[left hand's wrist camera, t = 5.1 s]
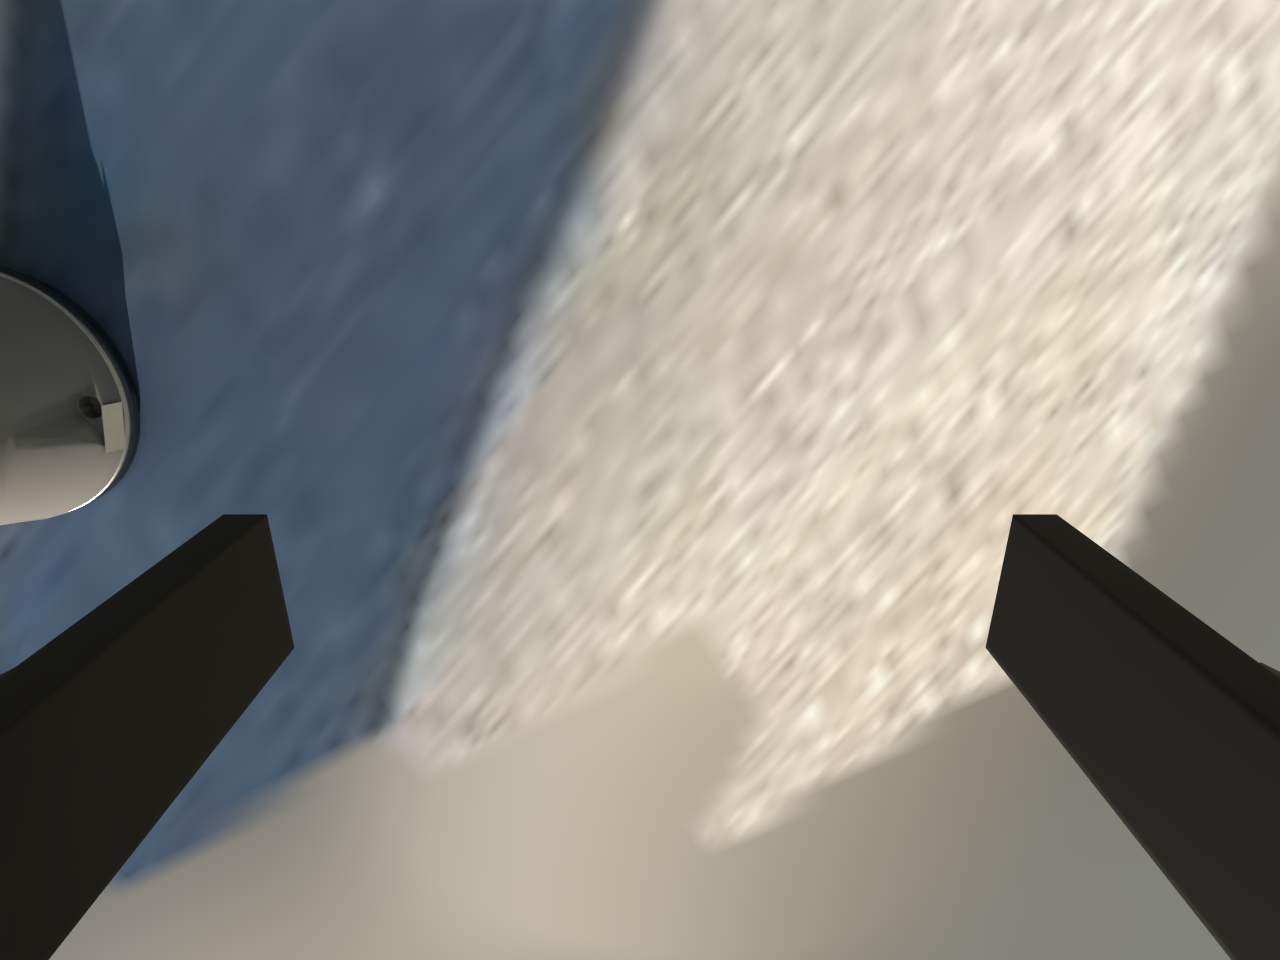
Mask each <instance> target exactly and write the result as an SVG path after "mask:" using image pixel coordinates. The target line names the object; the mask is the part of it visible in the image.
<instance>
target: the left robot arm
mask: <svg viewBox="0 0 1280 960" xmlns="http://www.w3.org/2000/svg"><path fill="white" fill-rule="evenodd" d="M139 434H140V414H139V406H138V401H137V396H136V392H135V389H134V386H133V383H132V380H131V378H130V375H129V373H128V371H127V369H126V367H125V365H124V363H123V361H122V359H121V357H120V356H119V354H118V352H117V351H116V349H115V348H114V346H113V345H112V343H111V342H110V340H109V339H108V338H107V336H106V335H105V334H104V333H103V332H102V330H101V329H100V328H99V327H98V326H97V325H96V324H95V323H94V322H93V321H92V320H91V319H90V318H89V317H88V316H87V315H86V314H85V313H84V312H83V311H82V310H81V309H80V308H78V307H77V306H76V305H75V304H73V303H72V302H71V301H69V300H68V299H67V298H66V297H64V296H63V295H61V294H60V293H58V292H56V291H55V290H53V289H52V288H50V287H48V286H46V285H44V284H43V283H41V282H39V281H37V280H34V279H32V278H30V277H28V276H25V275H23V274H20V273H17V272H14V271H11V270H7V269H3V268H0V525H4V524H11V523H18V522H24V521H34V520H41V519H46V518H51V517H54V516H57V515H61V514H64V513H67V512H69V511H72V510H75V509H77V508H79V507H82V506H84V505H86V504H88V503H89V502H91V501H93V500H95V499H97V498H99V497H100V496H102V495H103V494H105V493H107V492H108V491H109V490H110V489H112V488H113V487H114V486H115V485H116V484H117V483H118V482H119V481H120V480H121V479H122V477H123V476H124V475H125V473H126V472H127V470H128V469H129V467H130V465H131V463H132V461H133V458H134V456H135V453H136V450H137V446H138V442H139ZM293 649H294V644H293V639H292V634H291V629H290V624H289V619H288V615H287V610H286V605H285V600H284V595H283V590H282V585H281V581H280V576H279V571H278V566H277V561H276V556H275V551H274V547H273V542H272V537H271V532H270V527H269V522H268V518H267V515H222V516H221V517H219V518H218V519H217V520H215V521H214V522H213V523H211V524H210V525H208V526H207V527H206V528H204V529H203V530H202V531H200V532H199V533H198V534H196V535H195V536H193V537H192V538H191V539H189V540H188V541H187V542H185V543H184V544H183V545H181V546H180V547H179V548H177V549H176V550H174V551H173V552H172V553H170V554H169V555H168V556H166V557H165V558H164V559H162V560H161V561H159V562H158V563H157V564H155V565H154V566H153V567H151V568H150V569H149V570H147V571H146V572H144V573H143V574H142V575H140V576H139V577H138V578H136V579H135V580H134V581H132V582H131V583H129V584H128V585H127V586H125V587H124V588H123V589H121V590H120V591H119V592H117V593H116V594H114V595H113V596H112V597H110V598H109V599H108V600H106V601H105V602H104V603H102V604H101V605H100V606H98V607H97V608H95V609H94V610H93V611H91V612H90V613H89V614H87V615H86V616H85V617H83V618H82V619H80V620H79V621H78V622H76V623H75V624H74V625H72V626H71V627H70V628H68V629H67V630H65V631H64V632H63V633H61V634H60V635H59V636H57V637H56V638H55V639H53V640H52V641H50V642H49V643H48V644H46V645H45V646H44V647H42V648H41V649H40V650H38V651H37V652H36V653H34V654H33V655H31V656H30V657H29V658H27V659H26V660H25V661H23V662H22V663H21V664H19V665H18V666H16V667H15V668H13V669H11V670H9V671H7V672H5V673H3V674H1V675H0V960H49V959H50V957H51V956H52V955H53V953H54V952H55V951H56V950H57V948H58V947H59V946H60V945H61V943H62V942H63V941H64V939H65V938H66V937H67V936H68V934H69V933H70V932H71V931H72V929H73V928H74V927H75V925H76V924H77V923H78V922H79V920H80V919H81V918H82V917H83V915H84V914H85V913H86V912H87V910H88V909H89V908H90V906H91V905H92V904H93V903H94V901H95V900H96V899H97V898H98V896H99V895H100V894H101V892H102V891H103V890H104V889H105V887H106V886H107V885H108V884H109V882H110V881H111V880H112V879H113V877H114V876H115V875H116V873H117V872H118V871H119V870H120V868H121V867H122V866H123V865H124V863H125V862H126V861H127V859H128V858H129V857H130V856H131V854H132V853H133V852H134V851H135V849H136V848H137V847H138V846H139V844H140V843H141V842H142V840H143V839H144V838H145V837H146V835H147V834H148V833H149V832H150V830H151V829H152V828H153V826H154V825H155V824H156V823H157V821H158V820H159V819H160V818H161V816H162V815H163V814H164V812H165V811H166V810H167V809H168V807H169V806H170V805H171V804H172V802H173V801H174V800H175V799H176V797H177V796H178V795H179V793H180V792H181V791H182V790H183V788H184V787H185V786H186V785H187V783H188V782H189V781H190V779H191V778H192V777H193V776H194V774H195V773H196V772H197V771H198V769H199V768H200V767H201V765H202V764H203V763H204V762H205V760H206V759H207V758H208V757H209V755H210V754H211V753H212V752H213V750H214V749H215V748H216V746H217V745H218V744H219V743H220V741H221V740H222V739H223V738H224V736H225V735H226V734H227V732H228V731H229V730H230V729H231V727H232V726H233V725H234V724H235V722H236V721H237V720H238V719H239V717H240V716H241V715H242V713H243V712H244V711H245V710H246V708H247V707H248V706H249V705H250V703H251V702H252V701H253V699H254V698H255V697H256V696H257V694H258V693H259V692H260V691H261V689H262V688H263V687H264V685H265V684H266V683H267V682H268V680H269V679H270V678H271V677H272V675H273V674H274V673H275V672H276V670H277V669H278V668H279V666H280V665H281V664H282V663H283V661H284V660H285V659H286V658H287V656H288V655H289V654H290V652H291V651H292V650H293ZM986 649H987V650H988V651H989V652H990V654H991V655H992V656H993V658H994V659H995V660H996V661H997V663H998V664H999V665H1000V666H1001V668H1002V669H1003V670H1004V672H1005V673H1006V674H1007V675H1008V677H1009V678H1010V679H1011V680H1012V682H1013V683H1014V684H1015V685H1016V687H1017V688H1018V689H1019V691H1020V692H1021V693H1022V694H1023V696H1024V697H1025V698H1026V699H1027V701H1028V702H1029V703H1030V705H1031V706H1032V707H1033V708H1034V710H1035V711H1036V712H1037V713H1038V715H1039V716H1040V717H1041V719H1042V720H1043V721H1044V722H1045V724H1046V725H1047V726H1048V727H1049V729H1050V730H1051V731H1052V732H1053V734H1054V735H1055V736H1056V738H1057V739H1058V740H1059V741H1060V743H1061V744H1062V745H1063V746H1064V748H1065V749H1066V750H1067V751H1068V753H1069V754H1070V755H1071V757H1072V758H1073V759H1074V760H1075V762H1076V763H1077V764H1078V765H1079V767H1080V768H1081V769H1082V771H1083V772H1084V773H1085V774H1086V776H1087V777H1088V778H1089V779H1090V781H1091V782H1092V783H1093V785H1094V786H1095V787H1096V788H1097V790H1098V791H1099V792H1100V793H1101V795H1102V796H1103V797H1104V799H1105V800H1106V801H1107V802H1108V804H1109V805H1110V806H1111V807H1112V809H1113V810H1114V811H1115V812H1116V814H1117V815H1118V816H1119V818H1120V819H1121V820H1122V821H1123V823H1124V824H1125V825H1126V826H1127V828H1128V829H1129V830H1130V832H1131V833H1132V834H1133V835H1134V837H1135V838H1136V839H1137V840H1138V842H1139V843H1140V844H1141V845H1142V847H1143V848H1144V849H1145V851H1146V852H1147V853H1148V854H1149V856H1150V857H1151V858H1152V859H1153V861H1154V862H1155V863H1156V864H1157V866H1158V867H1159V868H1160V870H1161V871H1162V872H1163V873H1164V875H1165V876H1166V877H1167V879H1168V880H1169V881H1170V882H1171V884H1172V885H1173V886H1174V887H1175V889H1176V890H1177V891H1178V892H1179V894H1180V895H1181V896H1182V898H1183V899H1184V900H1185V901H1186V903H1187V904H1188V905H1189V906H1190V908H1191V909H1192V910H1193V911H1194V913H1195V914H1196V915H1197V917H1198V918H1199V919H1200V920H1201V922H1202V923H1203V924H1204V926H1205V927H1206V928H1207V929H1208V931H1209V932H1210V933H1211V934H1212V936H1213V937H1214V938H1215V939H1216V941H1217V942H1218V943H1219V945H1220V946H1221V947H1222V948H1223V950H1224V951H1225V952H1226V953H1227V955H1228V956H1229V957H1230V958H1231V960H1280V672H1279V671H1277V670H1275V669H1273V668H1271V667H1269V666H1267V665H1265V664H1263V663H1258V662H1257V661H1255V660H1254V659H1253V658H1251V657H1250V656H1249V655H1247V654H1246V653H1244V652H1243V651H1242V650H1240V649H1239V648H1238V647H1236V646H1235V645H1234V644H1232V643H1231V642H1230V641H1228V640H1227V639H1225V638H1224V637H1223V636H1221V635H1220V634H1219V633H1217V632H1216V631H1215V630H1213V629H1212V628H1210V627H1209V626H1208V625H1206V624H1205V623H1204V622H1202V621H1201V620H1200V619H1198V618H1197V617H1195V616H1194V615H1193V614H1191V613H1190V612H1189V611H1187V610H1186V609H1185V608H1183V607H1182V606H1180V605H1179V604H1178V603H1176V602H1175V601H1174V600H1172V599H1171V598H1170V597H1168V596H1167V595H1165V594H1164V593H1163V592H1161V591H1160V590H1159V589H1157V588H1156V587H1155V586H1153V585H1152V584H1151V583H1149V582H1148V581H1146V580H1145V579H1144V578H1142V577H1141V576H1140V575H1138V574H1137V573H1136V572H1134V571H1133V570H1131V569H1130V568H1129V567H1127V566H1126V565H1125V564H1123V563H1122V562H1121V561H1119V560H1118V559H1116V558H1115V557H1114V556H1112V555H1111V554H1110V553H1108V552H1107V551H1106V550H1104V549H1103V548H1101V547H1100V546H1099V545H1097V544H1096V543H1095V542H1093V541H1092V540H1091V539H1089V538H1088V537H1087V536H1085V535H1084V534H1082V533H1081V532H1080V531H1078V530H1077V529H1076V528H1074V527H1073V526H1072V525H1070V524H1069V523H1067V522H1066V521H1065V520H1063V519H1062V518H1061V517H1059V516H1058V515H1013V518H1012V522H1011V527H1010V532H1009V537H1008V542H1007V547H1006V551H1005V556H1004V561H1003V566H1002V571H1001V576H1000V581H999V585H998V590H997V595H996V600H995V605H994V610H993V615H992V619H991V624H990V629H989V634H988V639H987V644H986Z"/></svg>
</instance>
